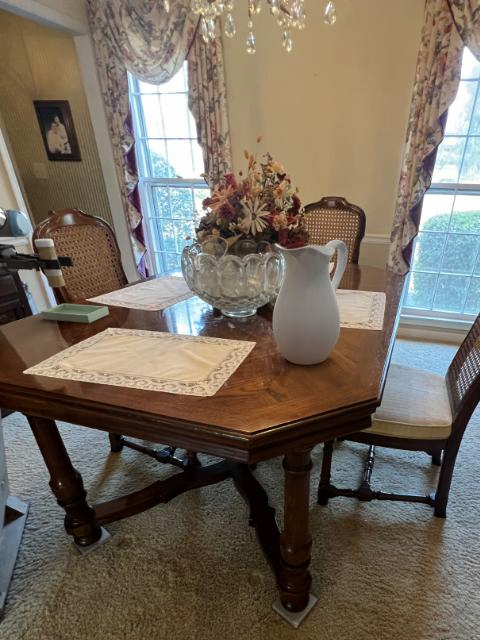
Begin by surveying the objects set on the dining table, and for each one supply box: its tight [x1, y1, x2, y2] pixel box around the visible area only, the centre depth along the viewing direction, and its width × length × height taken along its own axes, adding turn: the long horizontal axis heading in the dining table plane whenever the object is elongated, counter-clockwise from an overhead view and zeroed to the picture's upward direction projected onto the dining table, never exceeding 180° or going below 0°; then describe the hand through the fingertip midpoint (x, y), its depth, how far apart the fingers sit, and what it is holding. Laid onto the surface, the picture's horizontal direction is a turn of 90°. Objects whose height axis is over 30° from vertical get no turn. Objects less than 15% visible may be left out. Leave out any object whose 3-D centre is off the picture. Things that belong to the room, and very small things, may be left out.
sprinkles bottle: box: [34, 238, 66, 288], centre depth 114 cm, size 5×5×14 cm
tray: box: [40, 303, 110, 324], centre depth 127 cm, size 18×10×2 cm, turn 78°
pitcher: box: [272, 239, 349, 366], centre depth 94 cm, size 24×17×28 cm
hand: (65, 263), depth 113 cm, fingers closed on sprinkles bottle, 4 cm apart
